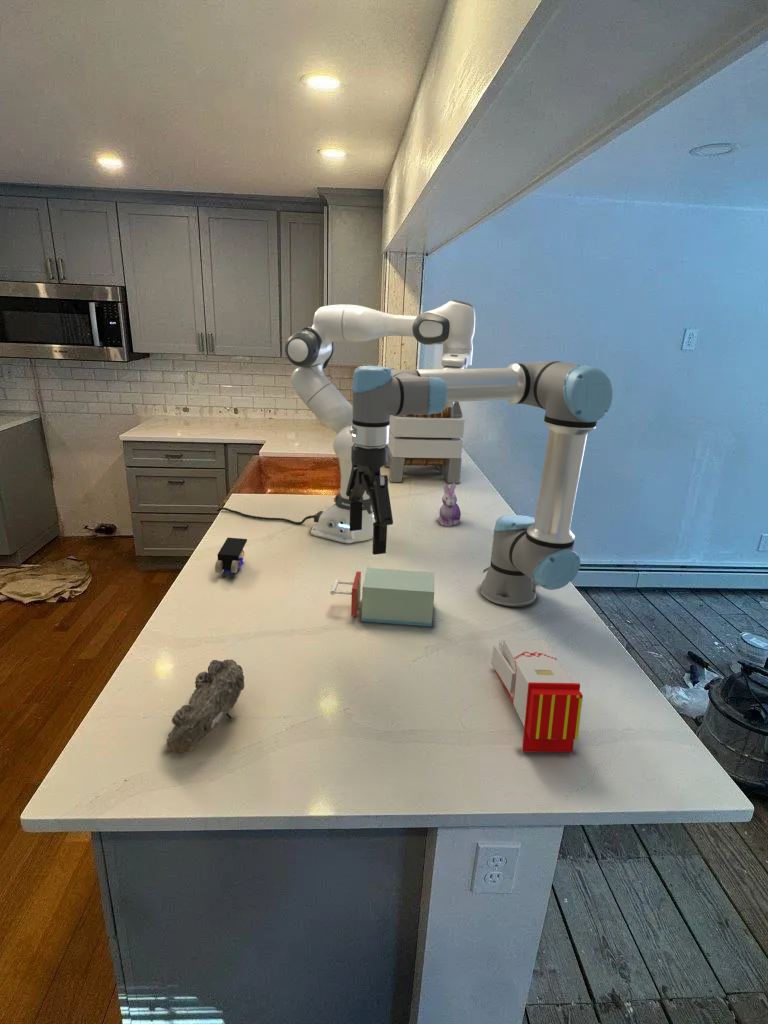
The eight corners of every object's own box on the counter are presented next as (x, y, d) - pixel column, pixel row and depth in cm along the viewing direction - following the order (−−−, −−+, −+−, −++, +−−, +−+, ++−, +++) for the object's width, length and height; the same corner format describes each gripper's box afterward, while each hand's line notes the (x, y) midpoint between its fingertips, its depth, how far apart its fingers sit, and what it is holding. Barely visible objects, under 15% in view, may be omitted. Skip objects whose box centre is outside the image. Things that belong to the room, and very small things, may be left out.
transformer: (382, 463, 289) (386, 382, 275) (445, 464, 293) (451, 384, 279) (390, 482, 257) (394, 392, 243) (460, 483, 261) (468, 394, 247)
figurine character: (238, 584, 162) (249, 557, 175) (236, 562, 158) (247, 536, 172) (215, 584, 161) (227, 556, 175) (212, 561, 158) (225, 535, 171)
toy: (540, 622, 128) (592, 691, 98) (535, 677, 130) (584, 759, 101) (487, 621, 127) (523, 690, 98) (483, 676, 130) (516, 758, 101)
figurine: (446, 528, 206) (449, 489, 201) (431, 519, 215) (434, 481, 210) (467, 524, 211) (471, 486, 206) (452, 516, 219) (455, 478, 214)
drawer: (328, 613, 144) (328, 587, 141) (334, 595, 153) (335, 569, 151) (415, 620, 143) (417, 593, 140) (416, 601, 152) (418, 575, 150)
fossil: (192, 660, 117) (244, 628, 112) (224, 691, 120) (276, 661, 115) (142, 746, 98) (202, 712, 93) (182, 779, 101) (242, 748, 96)
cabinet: (361, 621, 143) (362, 586, 140) (365, 599, 154) (367, 567, 151) (431, 626, 142) (434, 592, 139) (431, 604, 153) (434, 572, 150)
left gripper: (452, 355, 180) (448, 399, 184) (440, 360, 161) (436, 408, 166) (472, 356, 178) (468, 400, 183) (462, 361, 159) (458, 410, 164)
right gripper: (332, 432, 124) (331, 523, 132) (376, 461, 103) (372, 567, 110) (364, 431, 127) (361, 519, 135) (413, 458, 106) (407, 561, 113)
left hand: (453, 404), depth 174 cm, fingers open, 8 cm apart
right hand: (366, 541), depth 122 cm, fingers open, 13 cm apart
